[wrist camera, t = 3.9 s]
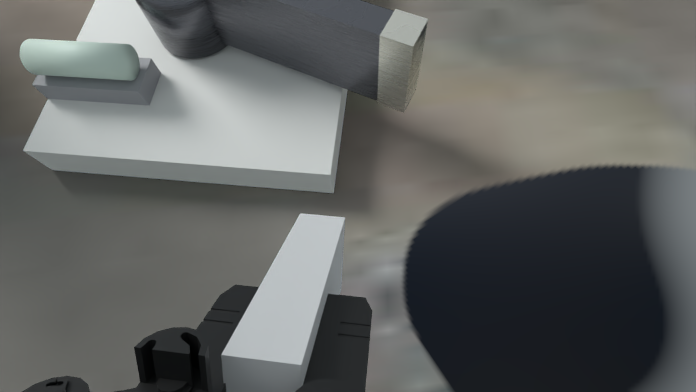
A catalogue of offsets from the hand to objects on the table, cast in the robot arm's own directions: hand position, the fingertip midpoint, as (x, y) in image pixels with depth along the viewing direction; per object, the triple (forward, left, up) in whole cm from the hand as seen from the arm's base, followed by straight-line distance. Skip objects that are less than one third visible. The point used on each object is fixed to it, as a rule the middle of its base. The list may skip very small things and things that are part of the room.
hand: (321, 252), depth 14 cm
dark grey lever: (-7, +18, -11) cm, 22 cm away
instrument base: (-14, +20, -14) cm, 28 cm away
